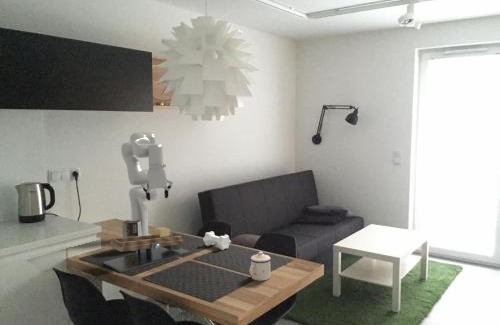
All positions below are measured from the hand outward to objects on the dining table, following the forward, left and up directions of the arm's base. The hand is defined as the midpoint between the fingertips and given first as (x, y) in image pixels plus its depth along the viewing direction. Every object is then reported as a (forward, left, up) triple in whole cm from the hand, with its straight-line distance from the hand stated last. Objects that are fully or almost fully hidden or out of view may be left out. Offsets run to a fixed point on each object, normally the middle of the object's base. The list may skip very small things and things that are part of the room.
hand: (157, 198), depth 217 cm
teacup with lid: (+65, +11, -30) cm, 72 cm away
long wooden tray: (+4, -9, -25) cm, 28 cm away
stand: (+4, -9, -30) cm, 31 cm away
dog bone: (+15, +28, -30) cm, 44 cm away
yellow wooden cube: (+4, -1, -21) cm, 22 cm away
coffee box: (-16, -7, -30) cm, 35 cm away
